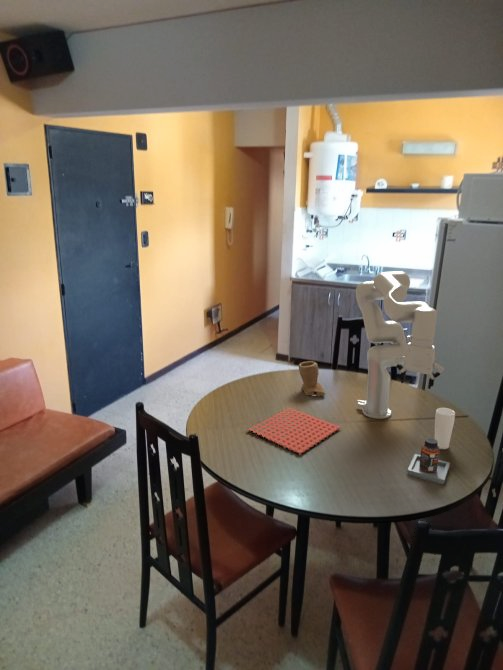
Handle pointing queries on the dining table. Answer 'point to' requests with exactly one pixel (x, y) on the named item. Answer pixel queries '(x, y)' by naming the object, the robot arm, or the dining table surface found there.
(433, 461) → the supplement bottle
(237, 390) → the dining table surface
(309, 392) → the tan boot-shaped piece
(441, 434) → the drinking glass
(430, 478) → the tray
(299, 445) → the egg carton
